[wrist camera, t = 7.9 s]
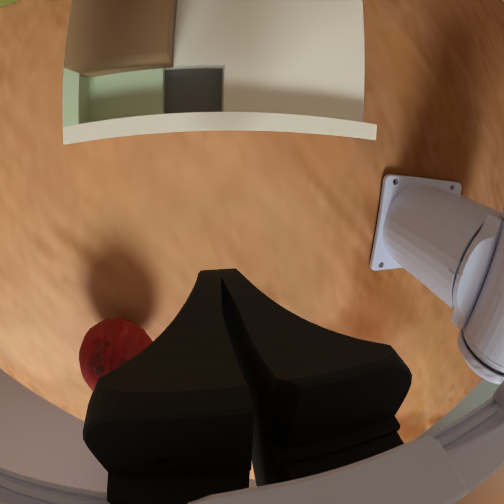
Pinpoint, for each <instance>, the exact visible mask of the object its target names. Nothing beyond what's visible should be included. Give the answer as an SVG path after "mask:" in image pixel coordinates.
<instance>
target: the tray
mask: <svg viewBox="0 0 504 504" xmlns="http://www.w3.org/2000/svg"><path fill="white" fill-rule="evenodd" d="M68 24H69V23H68ZM64 60H65V59H64ZM363 109H364V23H363V5H362V0H178V1H177V12H176V25H175V41H174V60H173V68H160V69H149V70H139V71H131V72H123V73H116V74H109V75H103V76H98V77H92V78H90V77H87V76H85V75H82V74H79V73H77V72H74V71H71V70H69V69H66V68H64V74H63V144H64V145H66V144H71V143H77V142H84V141H90V140H97V139H105V138H113V137H121V136H130V135H141V134H152V133H166V132H184V131H215V130H251V131H282V132H300V133H314V134H325V135H336V136H345V137H354V138H362V139H370V140H376V131H377V125H376V124H370V123H364V122H363Z"/></svg>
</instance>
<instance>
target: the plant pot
mask: <svg viewBox="0 0 504 504" xmlns="http://www.w3.org/2000/svg"><path fill="white" fill-rule="evenodd" d="M17 1H18V0H0V7H3V6H5V5H8V4H11V3H14V2H17Z"/></svg>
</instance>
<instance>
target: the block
mask: <svg viewBox="0 0 504 504" xmlns="http://www.w3.org/2000/svg"><path fill="white" fill-rule="evenodd" d="M177 1H178V0H72V5H71V11H70V17H69V24H68V31H67V39H66V48H65V60H64V68H66V69H69V70H71V71H74V72H77V73H79V74H82V75H85V76H87V77H90V78H92V77H98V76H103V75H109V74H116V73H123V72H131V71H139V70H149V69H160V68H173V60H174V41H175V25H176V12H177Z"/></svg>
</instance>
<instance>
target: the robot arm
mask: <svg viewBox="0 0 504 504" xmlns="http://www.w3.org/2000/svg"><path fill="white" fill-rule="evenodd" d="M394 179H395V183H394V184H393V180H394ZM450 187H451V188H450ZM460 194H461V184H460V183H458V182H452V181H445V180H437V179H429V178H421V177H412V176H403V175H392V174H387V175H385V177H384V178H383V185H382V193H381V200H380V207H379V214H378V220H377V227H376V233H375V239H374V244H373V250H372V255H371V260H370V268H371V269H372V270H375V271H376V270H385V269H394V268H404V269H406V270H407V271H408V272H409V273H411V274H412V275H413V276H414V277H415V278H417V279H418V280H419V281H420V282H422V283H423V284H424V285H425V286H426V287H428V288H429V289H430V290H431V291H432V292H433V293H435V294H436V295H437V296H438V297H439V298H440V299H442V300H443V301H444V302H445V303H446V304H447V305H449V306H450V307H451V308H452V309H453V310H454V312H453V316H452V318H451V321H452V322H453V323H454V324H455V325H456V326H457V327H458V328H459V329H460V332H459V334H458V346H459V350H460V352H461V354H462V356H463V357H464V359H465V361H466V363H467V364H468V365H469V367H470V368H471V369H472V370H473V371H474V372H475V373H476V374H478V375H479V376H480V377H482V378H483V379H486V380H487V381H490V382H492V383H495V384H500V386H499V387H498V388H497V390H496V391H495V393H494V395H493V397H492V398H490V399H489V400H487V401H486V402H485V403H483V404H481V405H480V406H478V407H477V408H475V409H474V410H472V411H470V412H469V413H467V414H466V415H464V416H463V417H461V418H459V419H457V420H455V421H454V422H452V423H450V424H448V425H447V426H445V427H443V428H441V429H439V430H437V431H435V432H433V433H432V434H430V435H428V436H426V437H422V438H420V439H417V440H414V441H411V442H408V443H403V441H402V440H401V438H400V436H399V435H398V433H397V431H398V430H399V429H400V424H399V422H398V421H397V419H396V417H395V414H396V413H397V411H398V409H399V408H400V406H401V404H402V402H403V401H404V399H405V397H406V395H407V393H408V391H409V388H410V386H411V380H412V374H411V372H410V370H409V368H408V367H407V365H406V364H405V363H404V362H403V360H402V359H401V358H400V357H399V355H398V354H397V353H396V351H395V350H394V349H393V348H392V347H391V346H390V345H386V344H381V343H376V342H371V341H366V340H361V339H357V338H353V337H350V336H346V335H343V334H340V333H336V332H334V331H331V330H328V329H325V328H323V327H321V326H318V325H316V324H313V323H311V322H309V321H307V320H305V319H303V318H301V317H299V316H297V315H295V314H293V313H292V312H290V311H288V310H286V309H285V308H283V307H282V306H280V305H279V304H277V303H276V302H274V301H273V300H271V299H270V298H269V297H267V296H266V295H265V294H263V293H262V292H261V291H260V290H259V289H257V288H256V287H255V286H254V285H253V284H252V283H251V282H250V281H249V280H247V279H246V278H245V277H244V276H243V275H242V274H241V273H240V272H239V271H238V270H237V269H236V268H234V269H219V270H202V271H200V272H199V273H198V277H197V281H196V283H195V285H194V288H193V290H192V291H191V293H190V295H189V297H188V299H187V301H186V302H185V304H184V305H183V307H182V308H181V310H180V311H179V313H178V314H177V316H176V317H175V318H174V320H173V321H172V322H171V323H170V325H169V326H168V327H167V328H166V329H165V330H164V331H163V332H162V334H161V335H160V336H159V337H158V338H157V339H156V340H155V341H154V342H152V343H151V344H150V345H149V346H148V347H147V348H145V349H144V350H143V351H142V352H140V353H139V354H138V355H136V356H135V357H133V358H132V359H131V360H129V361H128V362H126V363H125V364H123V365H121V366H119V367H118V368H116V369H114V370H113V371H111V372H109V373H107V374H106V375H104V376H102V377H100V378H99V379H98V381H97V383H96V386H95V388H94V391H93V393H92V396H91V398H90V401H89V404H88V409H87V413H86V418H85V424H84V429H83V440H84V441H85V443H86V445H87V447H88V448H89V450H90V451H91V452H92V453H93V455H94V456H95V457H96V458H97V460H98V461H99V462H100V463H101V464H102V466H103V467H104V468H105V469H106V470H107V471H108V485H107V493H106V492H98V491H91V490H85V489H79V488H74V487H68V486H64V485H59V484H54V483H50V482H46V481H42V480H38V479H35V478H31V477H28V476H24V475H21V474H18V473H15V472H12V471H9V470H6V469H3V468H0V504H454V503H455V502H457V501H458V500H460V499H461V498H462V497H464V496H465V495H467V494H468V493H469V492H471V491H472V490H473V489H474V488H476V487H477V486H478V485H480V484H481V483H482V482H484V481H485V480H486V479H487V478H488V477H490V476H491V475H492V474H493V473H494V472H495V471H497V470H498V469H499V468H500V467H501V466H502V465H503V464H504V208H503V212H502V213H501V212H499V211H497V210H494V209H492V208H490V207H488V206H486V205H483V204H481V203H479V202H477V201H474V200H472V199H470V198H467V197H465V196H462V195H460ZM381 262H382V263H381ZM380 263H381V264H380ZM379 264H380V265H379ZM251 461H252V464H253V469H254V474H255V480H256V485H257V487H251V488H249V474H250V470H251Z"/></svg>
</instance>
